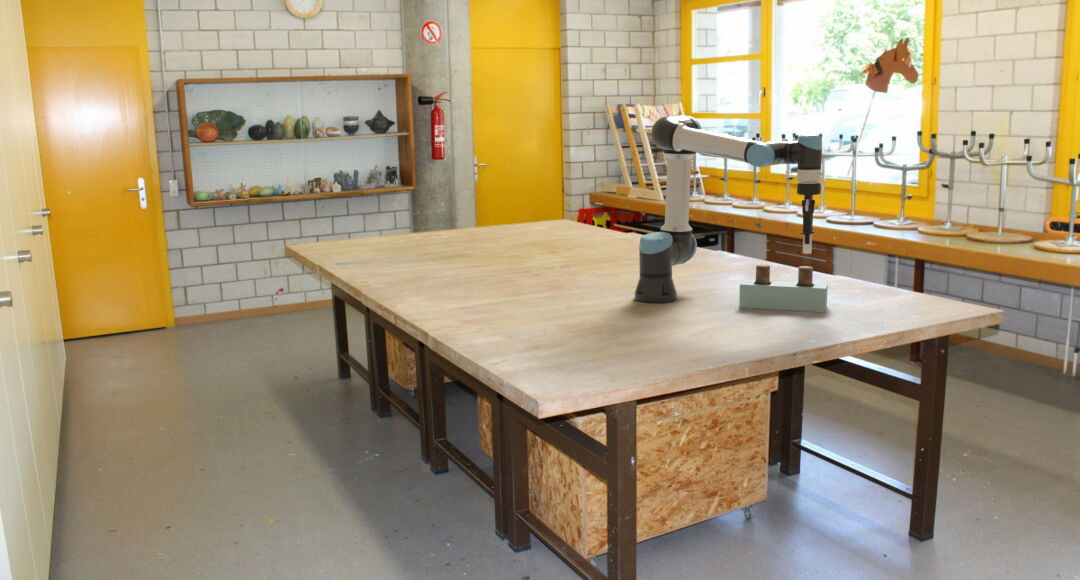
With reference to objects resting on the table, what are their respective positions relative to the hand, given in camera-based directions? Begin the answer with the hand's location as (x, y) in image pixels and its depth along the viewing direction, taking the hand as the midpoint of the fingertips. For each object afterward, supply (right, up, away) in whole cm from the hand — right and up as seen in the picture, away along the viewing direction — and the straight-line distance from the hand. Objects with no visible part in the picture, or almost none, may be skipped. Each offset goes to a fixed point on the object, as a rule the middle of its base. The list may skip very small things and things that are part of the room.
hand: (807, 253), depth 298 cm
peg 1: (-13, -12, +8) cm, 19 cm away
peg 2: (0, -13, +3) cm, 13 cm away
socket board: (-6, -18, +7) cm, 20 cm away
